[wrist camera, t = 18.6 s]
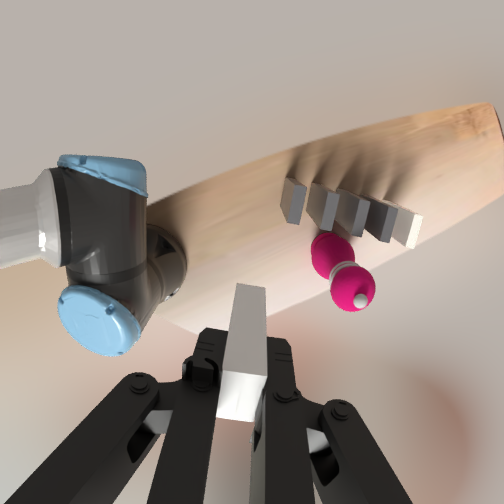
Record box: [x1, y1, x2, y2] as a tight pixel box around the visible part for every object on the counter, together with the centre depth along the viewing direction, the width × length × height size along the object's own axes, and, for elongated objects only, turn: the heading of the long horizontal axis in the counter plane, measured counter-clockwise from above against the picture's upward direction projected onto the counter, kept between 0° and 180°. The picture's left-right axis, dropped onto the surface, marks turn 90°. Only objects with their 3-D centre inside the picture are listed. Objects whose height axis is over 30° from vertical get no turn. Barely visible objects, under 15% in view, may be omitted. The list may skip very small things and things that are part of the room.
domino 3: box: [334, 188, 370, 237], centre depth 42 cm, size 2×5×12 cm, turn 170°
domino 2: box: [306, 182, 340, 231], centre depth 41 cm, size 2×5×12 cm, turn 171°
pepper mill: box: [311, 232, 375, 312], centre depth 41 cm, size 7×7×20 cm
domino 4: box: [360, 194, 398, 243], centre depth 42 cm, size 2×5×12 cm, turn 170°
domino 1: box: [280, 177, 307, 225], centre depth 41 cm, size 2×5×12 cm, turn 171°
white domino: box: [382, 200, 423, 249], centre depth 42 cm, size 2×5×12 cm, turn 170°
